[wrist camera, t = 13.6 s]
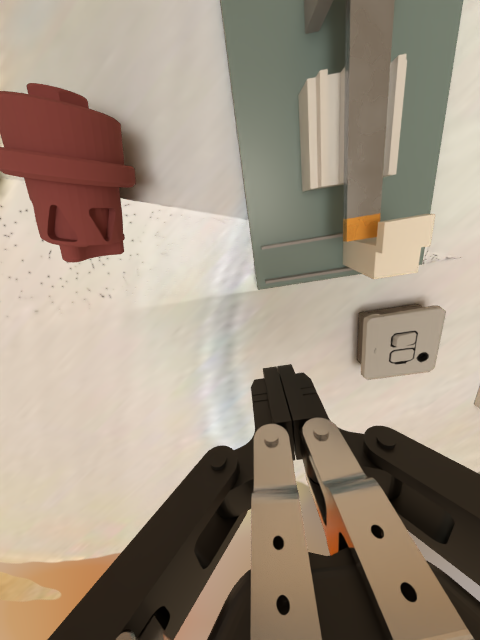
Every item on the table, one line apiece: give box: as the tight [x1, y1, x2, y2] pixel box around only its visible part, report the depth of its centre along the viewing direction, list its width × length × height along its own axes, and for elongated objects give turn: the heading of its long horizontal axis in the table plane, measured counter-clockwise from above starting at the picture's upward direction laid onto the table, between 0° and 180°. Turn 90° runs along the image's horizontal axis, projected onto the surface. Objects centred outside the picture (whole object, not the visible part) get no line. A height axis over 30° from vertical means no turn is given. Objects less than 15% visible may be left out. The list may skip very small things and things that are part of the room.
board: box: [220, 0, 463, 290], centre depth 22 cm, size 26×20×7 cm
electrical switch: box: [357, 304, 446, 380], centre depth 32 cm, size 9×5×9 cm
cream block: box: [343, 214, 435, 279], centre depth 24 cm, size 5×4×8 cm
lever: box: [343, 0, 395, 242], centre depth 18 cm, size 22×3×2 cm, turn 9°
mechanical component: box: [0, 83, 136, 262], centre depth 21 cm, size 12×10×10 cm
